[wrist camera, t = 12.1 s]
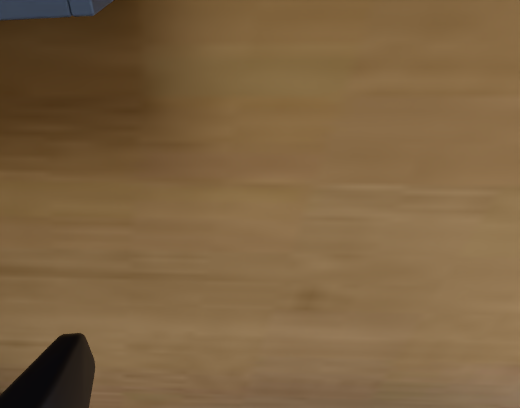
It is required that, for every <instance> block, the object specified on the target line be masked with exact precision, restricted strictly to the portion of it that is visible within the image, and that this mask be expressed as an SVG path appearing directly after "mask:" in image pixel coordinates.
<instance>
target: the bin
mask: <svg viewBox="0 0 520 408" xmlns="http://www.w3.org/2000/svg"><path fill="white" fill-rule="evenodd" d="M112 1H114V0H0V20H20V19H40V18H60V17H70V16H72V15H73V16H75V17H80V16H93V15H95V14H96V13H98V12H99V11H100V10H102V9H103V8H104V7H106V6H107V5H108V4H110V3H111V2H112Z"/></svg>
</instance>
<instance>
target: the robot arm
mask: <svg viewBox="0 0 520 408" xmlns="http://www.w3.org/2000/svg"><path fill="white" fill-rule="evenodd" d="M94 373H95V361H94V358H93V355H92V352H91V350H90V347H89V345H88V342H87V340H86V338H85V336H84V335H83V334H81V333H74V334H63V335H61V336H59V337H58V338H57V339H56V340H55V341H54V342H53V343H52V344H51V345H50V346H49V347H48V348H47V349H46V350H45V351H44V352H43V353H42V354H41V355H40V356H39V357H38V358H37V359H36V360H35V361H34V362H33V363H32V364H31V365H30V366H29V367H28V368H27V369H26V370H25V371H24V372H23V373H22V374H21V375H20V376H19V377H18V378H17V379H16V380H15V381H14V382H13V383H12V384H11V385H10V386H9V387H8V388H7V389H6V390H5V391H4V392H3V393H2V394H1V395H0V408H89V403H90V397H91V391H92V385H93V379H94Z"/></svg>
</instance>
